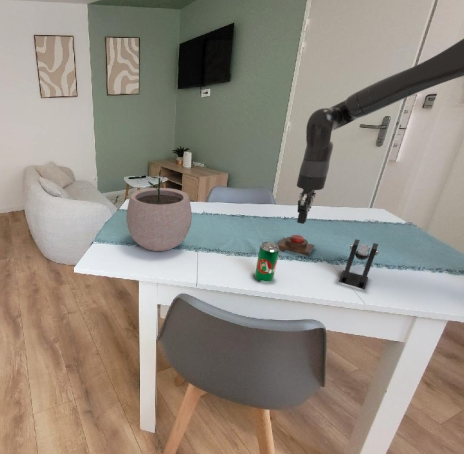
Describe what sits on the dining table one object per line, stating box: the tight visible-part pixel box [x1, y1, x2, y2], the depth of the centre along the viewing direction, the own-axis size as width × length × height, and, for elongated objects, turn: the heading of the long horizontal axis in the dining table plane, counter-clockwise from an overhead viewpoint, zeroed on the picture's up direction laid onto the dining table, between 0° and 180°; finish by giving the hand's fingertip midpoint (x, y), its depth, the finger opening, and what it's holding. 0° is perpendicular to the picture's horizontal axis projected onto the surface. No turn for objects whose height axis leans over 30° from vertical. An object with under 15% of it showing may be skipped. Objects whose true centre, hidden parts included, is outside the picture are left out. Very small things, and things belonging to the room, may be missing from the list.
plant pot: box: [126, 169, 193, 252], centre depth 108 cm, size 24×24×30 cm
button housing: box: [276, 235, 315, 257], centre depth 105 cm, size 10×8×4 cm
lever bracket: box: [338, 239, 379, 290], centre depth 84 cm, size 8×6×13 cm
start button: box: [290, 234, 305, 243], centre depth 104 cm, size 4×4×2 cm
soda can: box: [254, 241, 280, 282], centre depth 88 cm, size 5×5×12 cm
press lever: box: [354, 243, 372, 261], centre depth 86 cm, size 14×3×3 cm, turn 136°
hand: (301, 222), depth 102 cm, fingers closed
